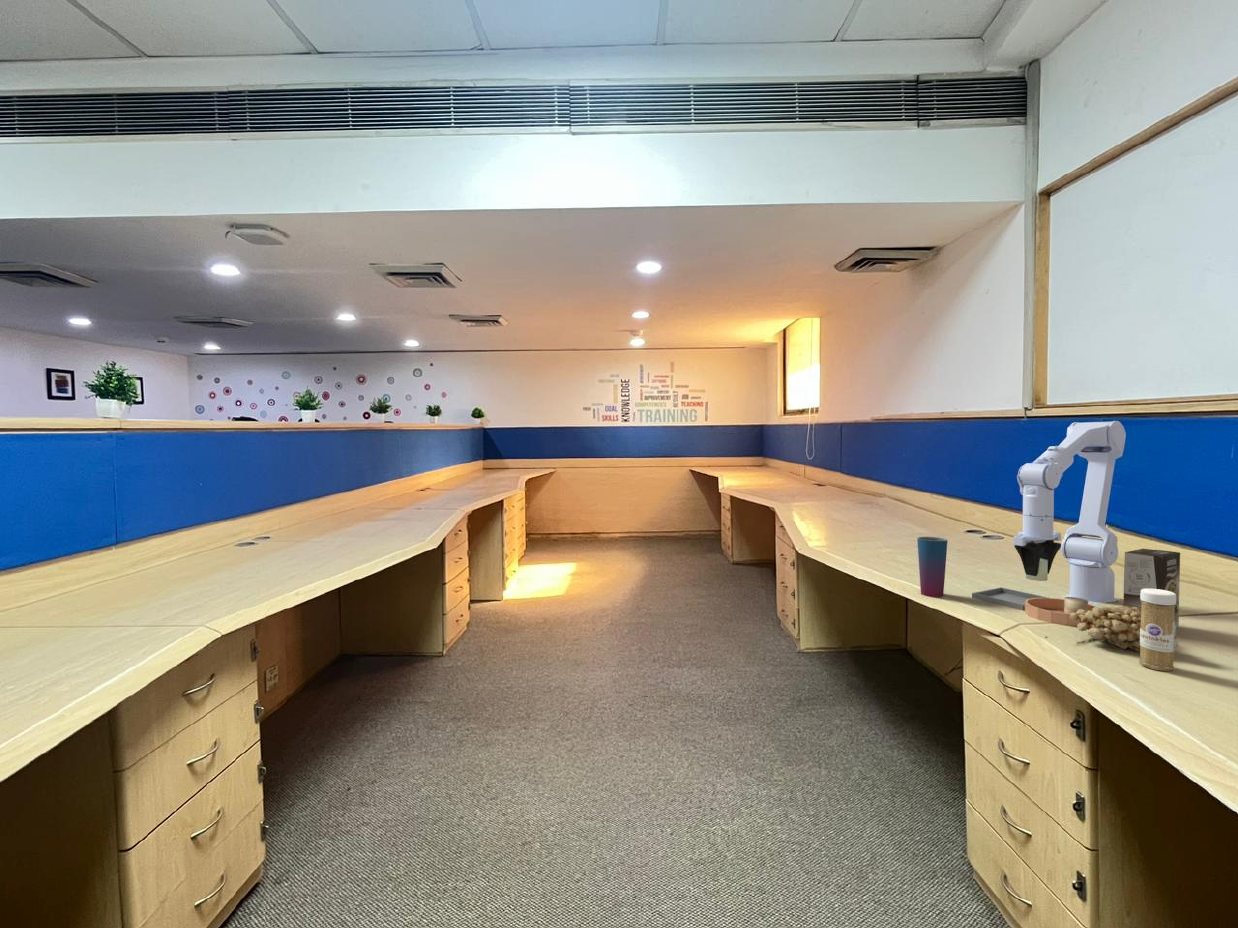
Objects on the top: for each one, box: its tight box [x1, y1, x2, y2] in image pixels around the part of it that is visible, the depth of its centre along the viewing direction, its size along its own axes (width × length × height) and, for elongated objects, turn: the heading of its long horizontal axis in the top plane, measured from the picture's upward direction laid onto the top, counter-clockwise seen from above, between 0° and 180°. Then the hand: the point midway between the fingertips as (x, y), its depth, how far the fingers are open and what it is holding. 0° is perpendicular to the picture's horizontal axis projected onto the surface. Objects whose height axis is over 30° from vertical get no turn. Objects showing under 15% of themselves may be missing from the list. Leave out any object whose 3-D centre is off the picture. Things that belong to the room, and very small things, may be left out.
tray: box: [971, 587, 1049, 611], centre depth 140 cm, size 12×12×2 cm
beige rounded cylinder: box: [1063, 597, 1089, 614], centre depth 124 cm, size 4×4×4 cm
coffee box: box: [1122, 548, 1181, 629], centre depth 120 cm, size 9×6×16 cm
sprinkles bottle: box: [1138, 588, 1176, 672], centre depth 100 cm, size 5×5×13 cm
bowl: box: [1024, 597, 1096, 627], centre depth 127 cm, size 13×13×3 cm
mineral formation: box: [1070, 605, 1180, 652], centre depth 111 cm, size 8×13×15 cm
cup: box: [916, 536, 948, 598], centre depth 146 cm, size 7×7×15 cm
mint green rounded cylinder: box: [1025, 558, 1049, 582], centre depth 132 cm, size 4×4×4 cm
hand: (1037, 574), depth 132 cm, fingers closed on mint green rounded cylinder, 4 cm apart
